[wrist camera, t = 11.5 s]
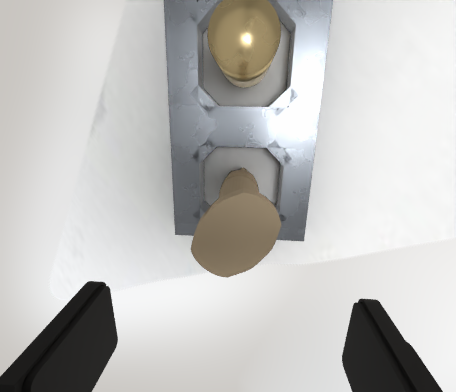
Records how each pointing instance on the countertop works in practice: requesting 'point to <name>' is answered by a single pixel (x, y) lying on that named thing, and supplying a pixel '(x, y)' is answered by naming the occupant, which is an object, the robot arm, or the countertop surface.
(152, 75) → the countertop surface
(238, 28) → the brass pin
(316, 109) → the bolt plate
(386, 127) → the countertop surface
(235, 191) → the handle
